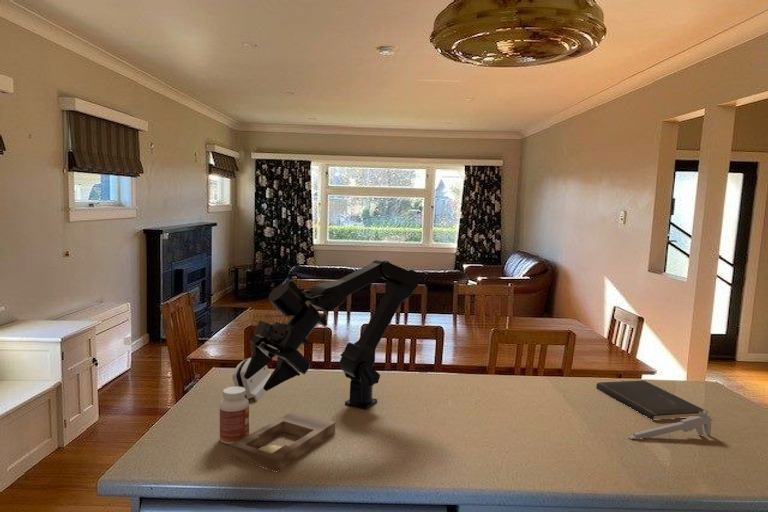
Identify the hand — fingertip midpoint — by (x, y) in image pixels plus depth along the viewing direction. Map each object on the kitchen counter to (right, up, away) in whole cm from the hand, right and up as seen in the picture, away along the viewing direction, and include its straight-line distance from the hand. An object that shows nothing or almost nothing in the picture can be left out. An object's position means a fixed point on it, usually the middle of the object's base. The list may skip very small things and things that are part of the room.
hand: (254, 383), depth 110 cm
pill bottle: (-4, -12, -2) cm, 13 cm away
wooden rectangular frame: (+8, -12, -4) cm, 15 cm away
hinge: (-7, -9, +27) cm, 30 cm away
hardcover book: (+102, -12, +26) cm, 105 cm away
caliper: (+95, -14, +5) cm, 96 cm away
